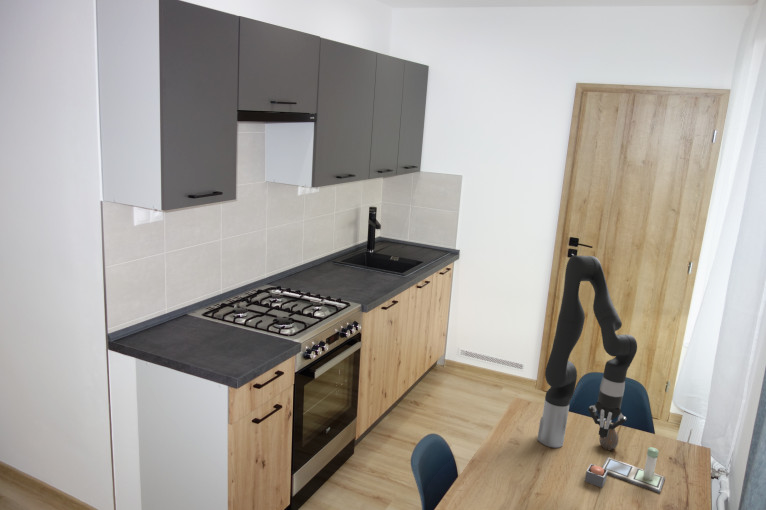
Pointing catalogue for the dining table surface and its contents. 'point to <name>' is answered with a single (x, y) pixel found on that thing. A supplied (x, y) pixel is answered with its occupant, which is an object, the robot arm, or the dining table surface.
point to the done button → (597, 470)
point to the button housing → (595, 477)
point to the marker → (650, 463)
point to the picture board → (633, 474)
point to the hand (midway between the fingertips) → (602, 436)
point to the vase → (610, 440)
